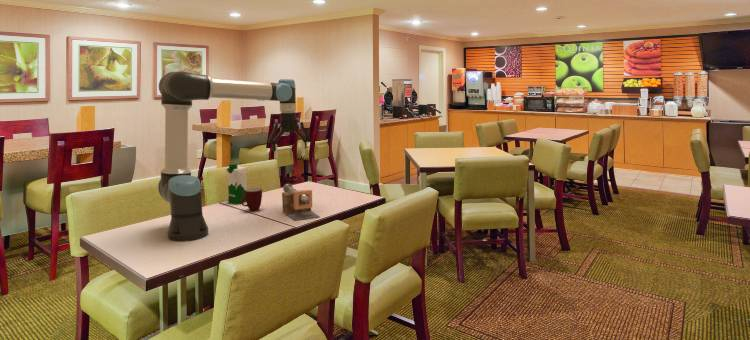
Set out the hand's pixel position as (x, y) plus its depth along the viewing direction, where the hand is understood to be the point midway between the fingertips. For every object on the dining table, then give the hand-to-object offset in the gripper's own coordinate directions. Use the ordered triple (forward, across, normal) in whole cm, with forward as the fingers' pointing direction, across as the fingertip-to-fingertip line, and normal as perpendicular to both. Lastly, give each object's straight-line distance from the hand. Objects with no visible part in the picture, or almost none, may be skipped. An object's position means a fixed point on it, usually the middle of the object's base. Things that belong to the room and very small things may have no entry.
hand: (290, 156), depth 227 cm
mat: (+25, 0, -17) cm, 30 cm away
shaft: (+19, 0, -8) cm, 20 cm away
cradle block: (+25, 0, -8) cm, 27 cm away
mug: (+25, -18, +5) cm, 32 cm away
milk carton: (+25, -21, +25) cm, 41 cm away
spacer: (+21, 0, -17) cm, 27 cm away
